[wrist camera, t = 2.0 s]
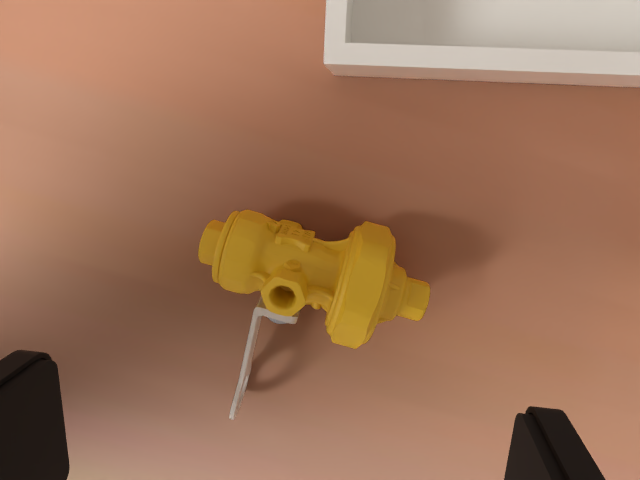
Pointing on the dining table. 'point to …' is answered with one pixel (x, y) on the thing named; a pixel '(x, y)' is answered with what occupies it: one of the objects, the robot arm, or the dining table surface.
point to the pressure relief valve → (310, 278)
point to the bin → (486, 40)
